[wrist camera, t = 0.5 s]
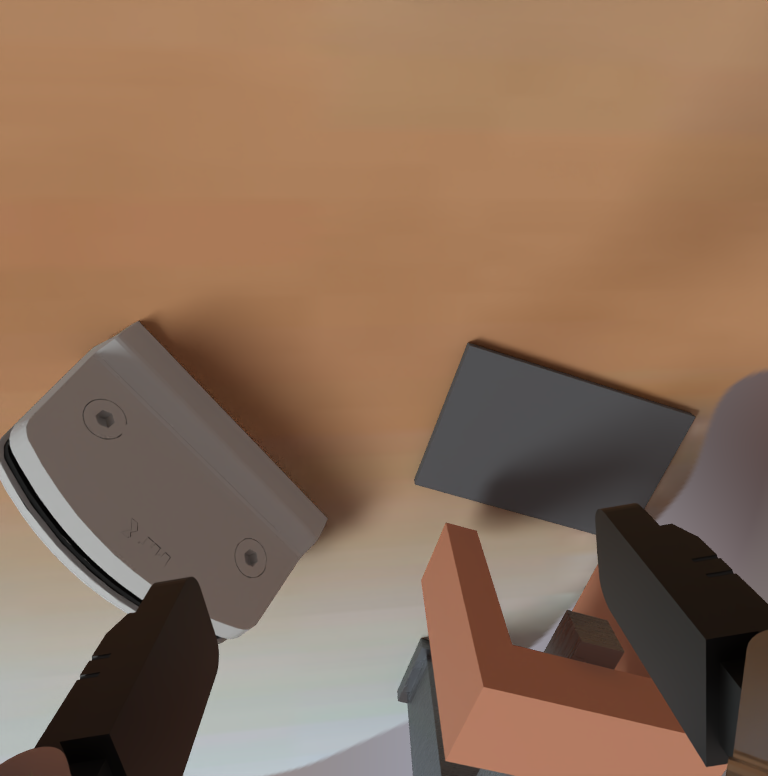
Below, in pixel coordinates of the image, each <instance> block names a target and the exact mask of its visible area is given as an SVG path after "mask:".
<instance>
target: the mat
mask: <svg viewBox="0 0 768 776" xmlns="http://www.w3.org/2000/svg"><path fill="white" fill-rule="evenodd" d="M694 419H695V416H693V415H692V414H691V413H688V412H685V411H682V410H679V409H676V408H673V407H670V406H666V405H663V404H660V403H657V402H654V401H651V400H647V399H644V398H641V397H638V396H635V395H632V394H629V393H625V392H622V391H619V390H616V389H613V388H610V387H607V386H603V385H600V384H597V383H594V382H591V381H588V380H584V379H581V378H578V377H575V376H572V375H569V374H566V373H562V372H559V371H556V370H553V369H550V368H547V367H544V366H540V365H537V364H534V363H531V362H528V361H525V360H521V359H518V358H515V357H512V356H509V355H506V354H503V353H499V352H496V351H493V350H490V349H487V348H484V347H481V346H477V345H474V344H471V343H468V344H467V346H466V349H465V351H464V354H463V357H462V359H461V362H460V364H459V367H458V369H457V372H456V374H455V377H454V379H453V382H452V385H451V387H450V390H449V392H448V395H447V397H446V400H445V402H444V405H443V408H442V410H441V413H440V415H439V418H438V420H437V423H436V425H435V428H434V430H433V433H432V436H431V438H430V441H429V443H428V446H427V448H426V451H425V453H424V456H423V459H422V461H421V464H420V466H419V469H418V471H417V474H416V476H415V479H414V481H415V485H419V486H423V487H426V488H430V489H433V490H437V491H441V492H444V493H448V494H451V495H455V496H459V497H462V498H466V499H469V500H473V501H477V502H480V503H484V504H487V505H491V506H495V507H498V508H502V509H505V510H509V511H513V512H516V513H520V514H523V515H527V516H531V517H534V518H538V519H541V520H545V521H549V522H552V523H556V524H559V525H563V526H567V527H570V528H574V529H577V530H581V531H585V532H588V533H592V534H595V535H596V526H595V514H596V511H597V510H598V509H602V508H608V507H614V506H620V505H626V504H632V503H637V504H639V505H640V506H641V507H642V508H643V509H644V508H645V506H646V505H647V503H648V501H649V499H650V497H651V496H652V494H653V492H654V490H655V489H656V487H657V485H658V483H659V481H660V480H661V478H662V476H663V474H664V472H665V471H666V469H667V467H668V465H669V464H670V462H671V460H672V458H673V456H674V455H675V453H676V451H677V449H678V448H679V446H680V444H681V442H682V440H683V439H684V437H685V435H686V433H687V432H688V430H689V428H690V426H691V424H692V423H693V421H694Z"/></svg>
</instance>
